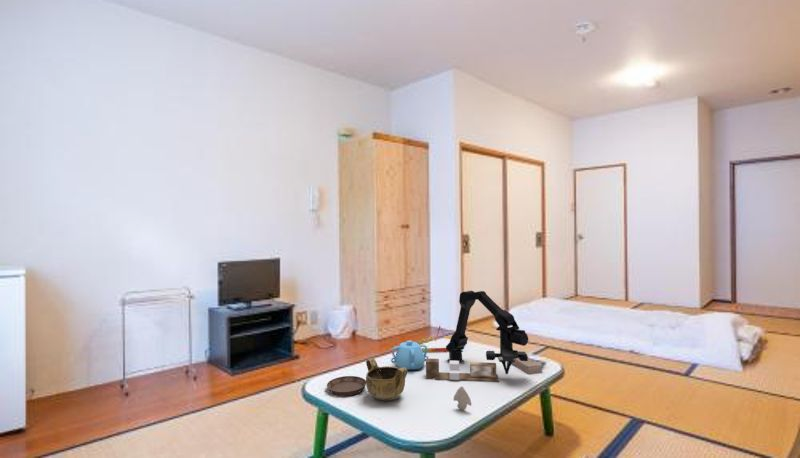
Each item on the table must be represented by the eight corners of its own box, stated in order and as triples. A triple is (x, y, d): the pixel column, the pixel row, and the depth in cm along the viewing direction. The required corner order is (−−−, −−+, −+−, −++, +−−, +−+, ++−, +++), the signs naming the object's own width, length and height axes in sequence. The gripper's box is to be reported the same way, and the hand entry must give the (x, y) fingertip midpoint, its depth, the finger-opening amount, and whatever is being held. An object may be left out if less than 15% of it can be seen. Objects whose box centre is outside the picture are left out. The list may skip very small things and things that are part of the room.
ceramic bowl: (418, 399, 180) (418, 364, 180) (390, 412, 168) (389, 374, 168) (382, 385, 196) (381, 353, 195) (353, 396, 184) (353, 362, 183)
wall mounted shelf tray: (470, 377, 201) (470, 364, 201) (470, 374, 205) (470, 362, 205) (496, 378, 200) (496, 365, 200) (495, 375, 203) (495, 362, 203)
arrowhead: (452, 409, 170) (451, 384, 170) (455, 406, 172) (454, 382, 172) (470, 414, 166) (469, 388, 165) (473, 411, 168) (472, 386, 167)
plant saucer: (343, 401, 180) (343, 394, 179) (318, 390, 192) (318, 383, 192) (374, 389, 192) (374, 382, 192) (349, 379, 205) (349, 373, 204)
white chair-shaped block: (449, 379, 200) (449, 366, 199) (449, 372, 208) (449, 360, 208) (459, 379, 199) (459, 367, 199) (459, 372, 208) (458, 360, 208)
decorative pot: (432, 366, 220) (432, 340, 220) (411, 375, 208) (411, 347, 208) (408, 359, 231) (408, 334, 231) (387, 367, 219) (387, 341, 219)
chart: (409, 353, 242) (409, 327, 242) (409, 352, 245) (409, 326, 245) (462, 352, 243) (462, 326, 243) (461, 350, 247) (461, 324, 246)
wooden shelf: (425, 379, 202) (425, 362, 202) (426, 373, 210) (426, 357, 210) (499, 382, 198) (498, 364, 198) (497, 375, 206) (497, 359, 205)
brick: (543, 373, 209) (543, 363, 209) (528, 375, 206) (528, 365, 206) (524, 362, 225) (524, 353, 225) (510, 364, 222) (510, 355, 222)
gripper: (487, 345, 194) (487, 379, 194) (529, 346, 192) (529, 380, 192) (485, 338, 205) (485, 370, 205) (525, 339, 203) (525, 372, 203)
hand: (506, 373), depth 201 cm, fingers closed
